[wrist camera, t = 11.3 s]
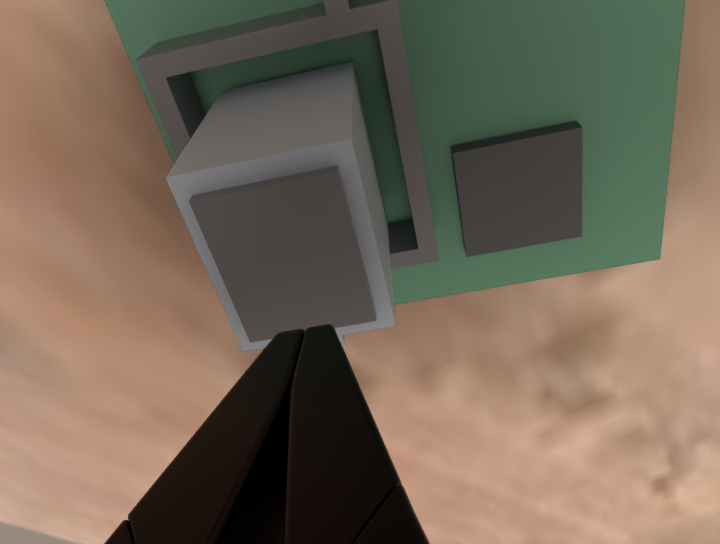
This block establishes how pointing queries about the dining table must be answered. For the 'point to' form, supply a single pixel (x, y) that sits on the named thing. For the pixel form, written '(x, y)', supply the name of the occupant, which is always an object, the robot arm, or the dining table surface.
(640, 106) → the board
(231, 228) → the plug
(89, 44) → the dining table surface
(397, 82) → the grey square frame
